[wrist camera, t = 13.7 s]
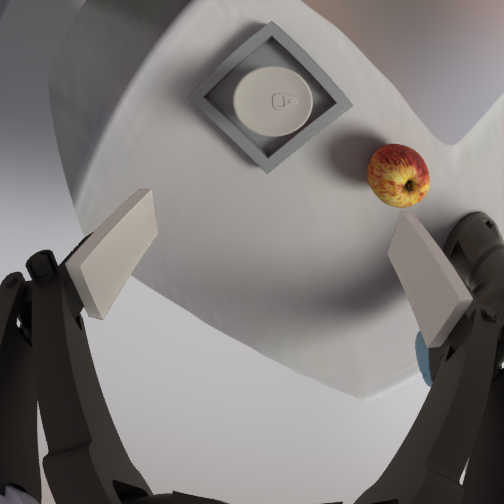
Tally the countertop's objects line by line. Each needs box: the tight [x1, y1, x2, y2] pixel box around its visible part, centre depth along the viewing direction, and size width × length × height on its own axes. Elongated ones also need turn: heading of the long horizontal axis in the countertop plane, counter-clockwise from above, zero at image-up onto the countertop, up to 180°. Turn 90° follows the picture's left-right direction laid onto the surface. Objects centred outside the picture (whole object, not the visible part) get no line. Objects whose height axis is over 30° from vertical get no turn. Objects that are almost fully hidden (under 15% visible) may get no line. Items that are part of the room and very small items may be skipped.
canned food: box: [233, 66, 313, 137], centre depth 28 cm, size 8×8×11 cm
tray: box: [187, 21, 353, 174], centre depth 32 cm, size 16×16×3 cm
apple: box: [367, 144, 430, 208], centre depth 33 cm, size 9×9×10 cm
